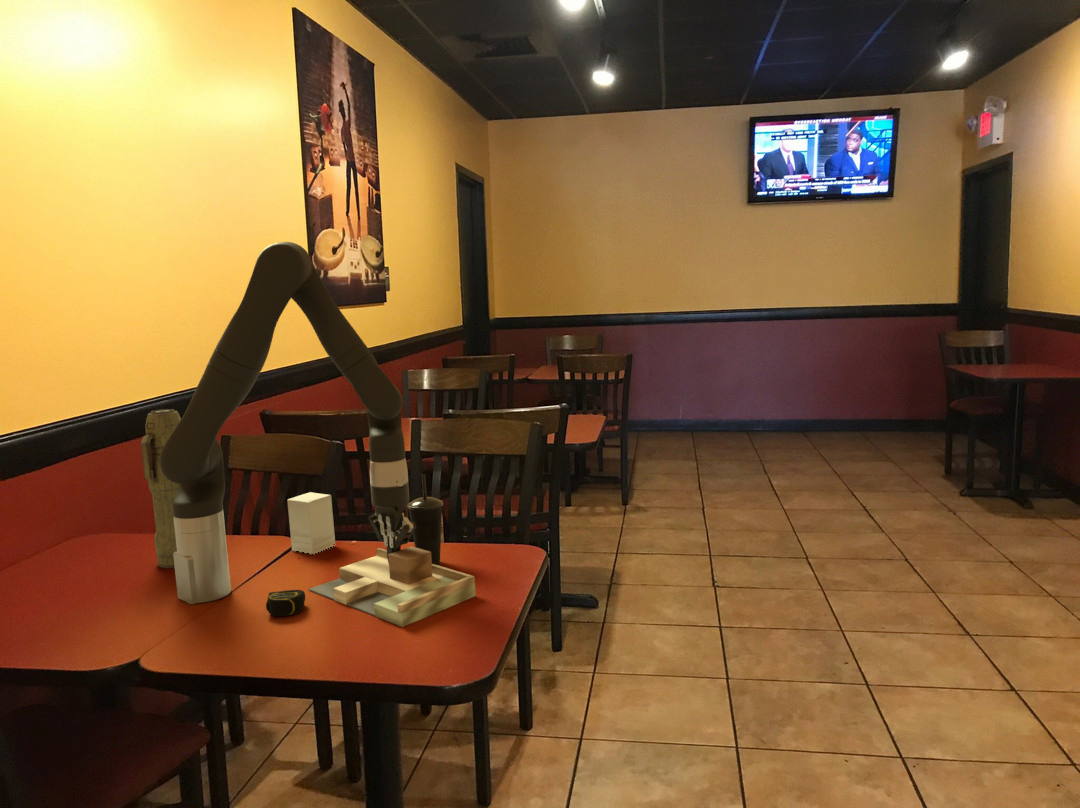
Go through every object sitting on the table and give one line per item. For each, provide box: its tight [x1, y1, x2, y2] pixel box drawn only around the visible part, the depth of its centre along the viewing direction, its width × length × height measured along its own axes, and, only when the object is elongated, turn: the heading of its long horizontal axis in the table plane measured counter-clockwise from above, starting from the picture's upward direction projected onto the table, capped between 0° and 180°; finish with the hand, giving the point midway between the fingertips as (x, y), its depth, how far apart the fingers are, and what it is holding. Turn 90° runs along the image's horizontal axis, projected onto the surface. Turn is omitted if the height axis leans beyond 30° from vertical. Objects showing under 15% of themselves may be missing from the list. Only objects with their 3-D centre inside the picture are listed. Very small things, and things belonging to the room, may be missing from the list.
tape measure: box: [265, 589, 306, 617], centre depth 153 cm, size 7×7×4 cm
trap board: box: [308, 547, 476, 628], centre depth 161 cm, size 18×30×4 cm, turn 48°
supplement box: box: [287, 491, 336, 555], centre depth 191 cm, size 7×7×13 cm
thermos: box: [140, 408, 182, 569], centre depth 183 cm, size 9×12×35 cm
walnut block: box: [388, 545, 432, 585], centre depth 162 cm, size 6×6×5 cm
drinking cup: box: [406, 473, 444, 566], centre depth 176 cm, size 8×8×20 cm
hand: (394, 563), depth 166 cm, fingers closed
